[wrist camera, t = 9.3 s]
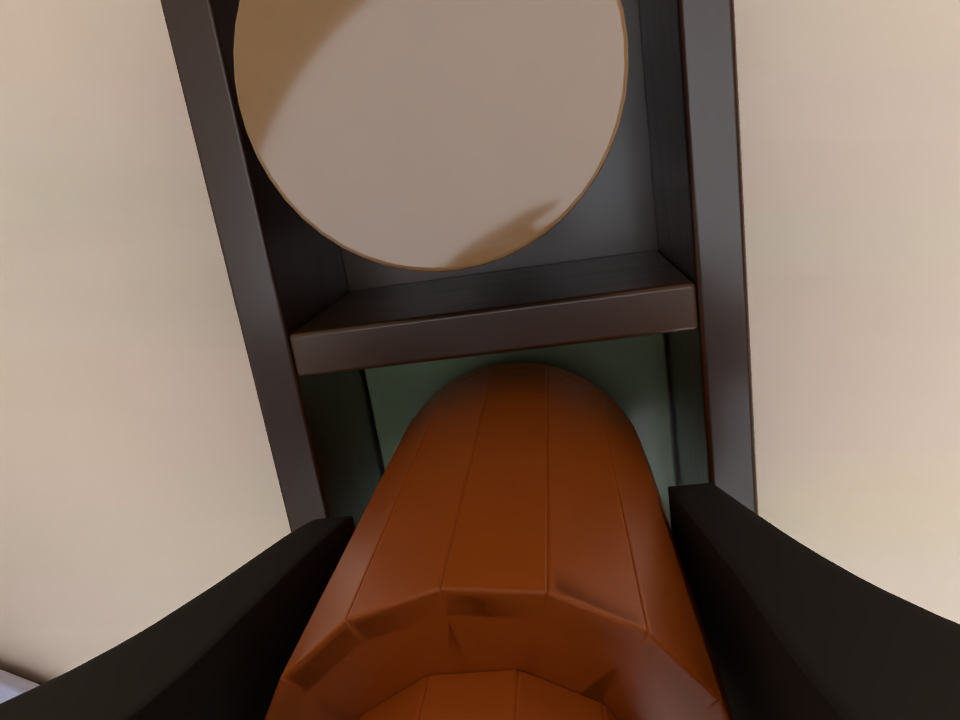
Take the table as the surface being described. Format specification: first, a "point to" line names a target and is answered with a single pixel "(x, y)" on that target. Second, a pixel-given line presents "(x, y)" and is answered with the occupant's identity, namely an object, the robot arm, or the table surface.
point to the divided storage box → (503, 279)
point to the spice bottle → (509, 573)
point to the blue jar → (431, 118)
